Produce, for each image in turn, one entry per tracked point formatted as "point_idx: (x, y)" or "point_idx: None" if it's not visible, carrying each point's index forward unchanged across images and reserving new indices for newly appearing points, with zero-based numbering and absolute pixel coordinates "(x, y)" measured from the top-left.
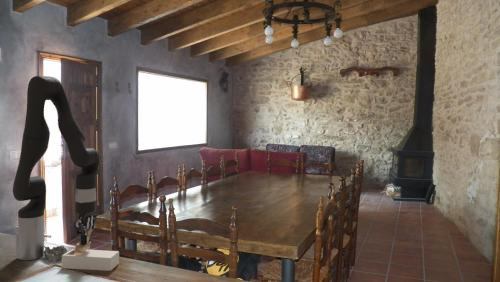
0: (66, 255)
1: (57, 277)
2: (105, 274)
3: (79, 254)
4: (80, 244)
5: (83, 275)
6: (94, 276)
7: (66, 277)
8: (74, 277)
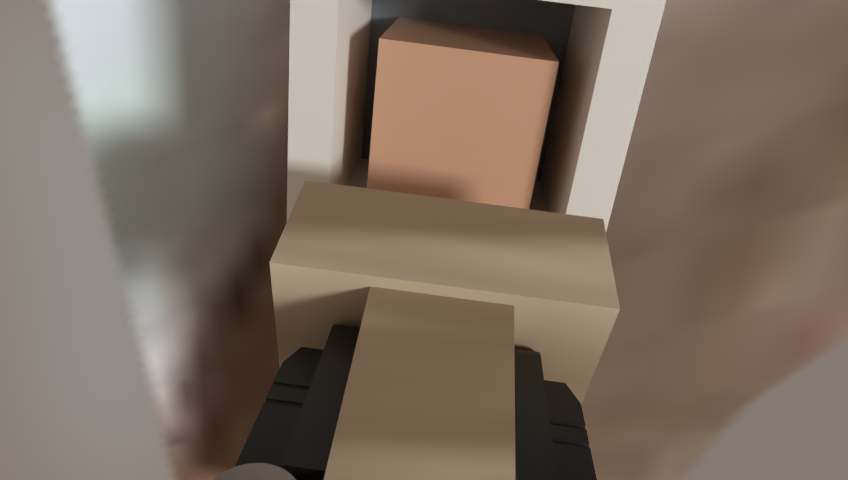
0: (296, 11)
1: (54, 10)
2: (230, 441)
3: (460, 164)
4: (320, 318)
5: (170, 270)
6: (169, 370)
7: (81, 118)
8: (103, 202)
